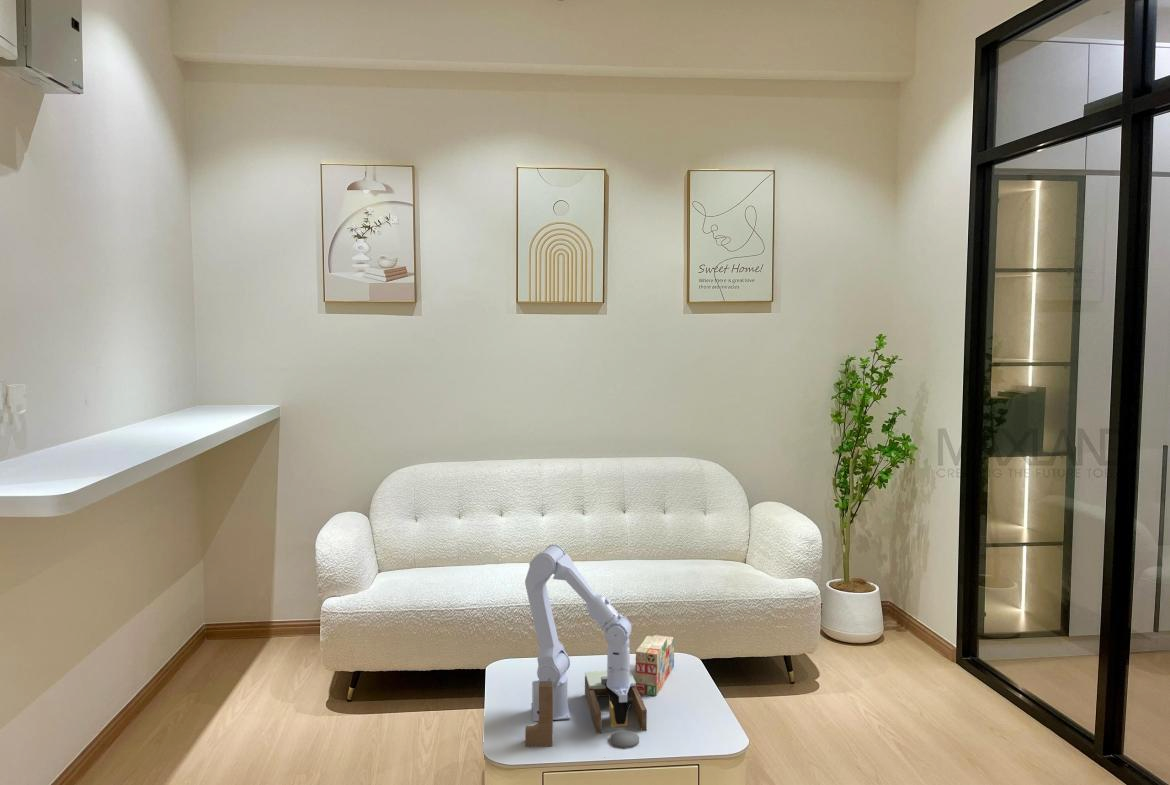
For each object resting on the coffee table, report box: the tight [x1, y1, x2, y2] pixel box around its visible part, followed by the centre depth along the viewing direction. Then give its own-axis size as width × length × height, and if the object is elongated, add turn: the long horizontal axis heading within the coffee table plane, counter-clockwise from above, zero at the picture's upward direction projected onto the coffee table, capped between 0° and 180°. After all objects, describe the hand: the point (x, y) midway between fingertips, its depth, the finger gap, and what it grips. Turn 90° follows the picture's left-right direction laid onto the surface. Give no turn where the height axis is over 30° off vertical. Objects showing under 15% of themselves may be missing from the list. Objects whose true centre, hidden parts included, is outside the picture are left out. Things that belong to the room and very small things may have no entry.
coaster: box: [610, 730, 640, 749], centre depth 197 cm, size 7×7×1 cm
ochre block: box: [608, 700, 628, 728], centre depth 206 cm, size 4×4×5 cm
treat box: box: [584, 676, 648, 734], centre depth 212 cm, size 13×22×5 cm, turn 8°
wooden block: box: [524, 681, 554, 747], centre depth 195 cm, size 7×3×15 cm, turn 91°
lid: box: [584, 670, 636, 689], centre depth 219 cm, size 13×9×2 cm
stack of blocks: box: [635, 634, 675, 697], centre depth 233 cm, size 21×6×12 cm, turn 161°
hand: (618, 717), depth 207 cm, fingers open, 6 cm apart
